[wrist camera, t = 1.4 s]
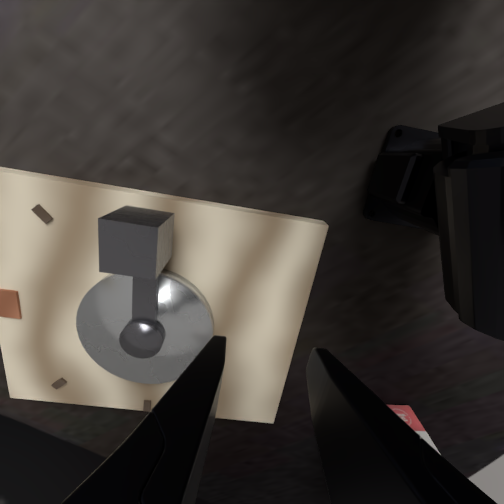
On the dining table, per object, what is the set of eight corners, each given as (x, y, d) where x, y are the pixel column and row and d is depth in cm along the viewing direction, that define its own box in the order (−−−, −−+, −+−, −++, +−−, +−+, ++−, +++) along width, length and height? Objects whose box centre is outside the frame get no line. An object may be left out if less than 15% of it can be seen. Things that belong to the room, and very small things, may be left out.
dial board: (322, 220, 21) (329, 226, 19) (271, 409, 27) (273, 425, 26) (-12, 164, 19) (-36, 166, 17) (23, 384, 25) (8, 399, 24)
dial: (206, 378, 23) (197, 431, 19) (87, 365, 23) (49, 417, 18) (230, 217, 18) (226, 238, 14) (79, 192, 18) (24, 206, 13)
